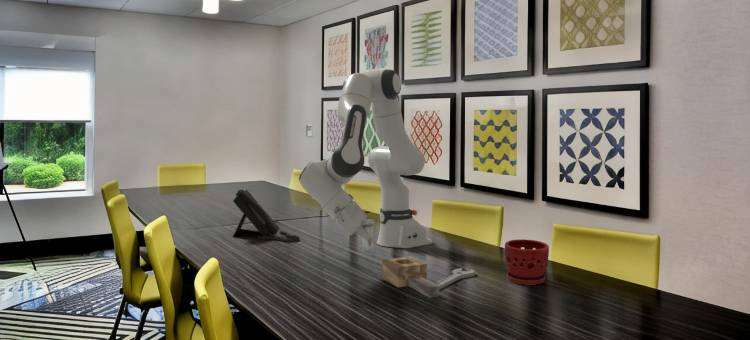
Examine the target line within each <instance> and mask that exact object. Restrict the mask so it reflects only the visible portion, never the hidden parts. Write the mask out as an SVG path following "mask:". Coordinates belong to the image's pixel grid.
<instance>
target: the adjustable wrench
mask: <svg viewBox="0 0 750 340" xmlns="http://www.w3.org/2000/svg"><path fill="white" fill-rule="evenodd" d="M475 273H476V271H475V270H474V269H472V268H470V270H463V268H461V267H460V268H455V269H453V270H451V275H449V276H447V277H445V278H442V279H440V280H439V281H436V282H434V284H436V285H438V286H439V290H441V289H443V288H446V287H447V286H448V285H449V286H450V285H451V284H453V283H454V282H457V281H459V280H461V279H465V278H472V276H473V277H475Z"/></svg>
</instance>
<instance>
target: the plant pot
mask: <svg viewBox="0 0 750 340" xmlns="http://www.w3.org/2000/svg"><path fill="white" fill-rule="evenodd" d="M549 253H550V245H548V244H547V243H546V242H543V241H541V240H534V239H512V240H511V239H510V240H508V241H506V242H505V243H504V259H505V264H506V265H505V266H506V268H507V270H508V271H507V272H506V278H507V279H508V280H509V281H511V282H513V283H515V284H517V283H518V285H521V284H524V285H523V286H537V285H536V284H539V285H540V283H541V284H542V283H544V282H545V281H546V275H545V274H544V273H545V272H546V270H547V267H548V264H549V255H550V254H549Z"/></svg>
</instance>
